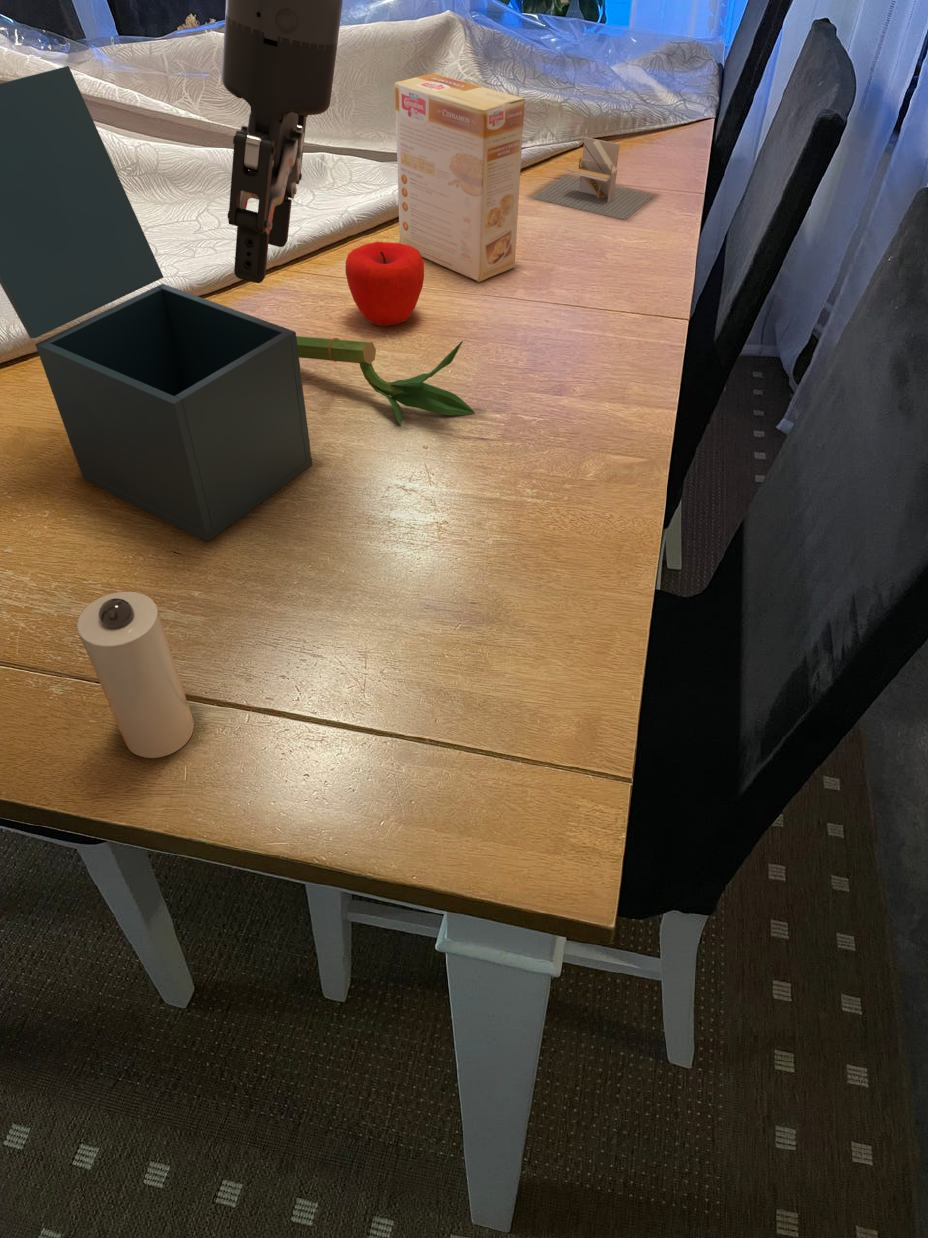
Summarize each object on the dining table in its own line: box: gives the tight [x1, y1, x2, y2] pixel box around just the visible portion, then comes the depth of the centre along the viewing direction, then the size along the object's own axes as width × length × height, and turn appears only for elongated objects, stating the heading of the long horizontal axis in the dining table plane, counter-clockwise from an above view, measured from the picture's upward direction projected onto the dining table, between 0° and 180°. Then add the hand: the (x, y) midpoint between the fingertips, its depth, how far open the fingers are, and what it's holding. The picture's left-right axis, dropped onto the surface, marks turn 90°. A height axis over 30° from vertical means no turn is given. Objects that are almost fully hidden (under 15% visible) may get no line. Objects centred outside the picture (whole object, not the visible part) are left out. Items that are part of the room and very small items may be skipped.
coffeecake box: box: [394, 72, 526, 283], centre depth 108 cm, size 15×7×20 cm, turn 46°
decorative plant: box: [296, 335, 475, 427], centre depth 91 cm, size 6×8×30 cm
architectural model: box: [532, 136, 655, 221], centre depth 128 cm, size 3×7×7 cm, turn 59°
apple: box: [344, 241, 425, 327], centre depth 100 cm, size 9×9×8 cm
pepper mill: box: [76, 591, 195, 759], centre depth 56 cm, size 5×5×12 cm
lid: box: [0, 65, 164, 339], centre depth 69 cm, size 16×14×1 cm
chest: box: [34, 283, 313, 543], centre depth 76 cm, size 16×14×13 cm
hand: (261, 260), depth 69 cm, fingers open, 8 cm apart
